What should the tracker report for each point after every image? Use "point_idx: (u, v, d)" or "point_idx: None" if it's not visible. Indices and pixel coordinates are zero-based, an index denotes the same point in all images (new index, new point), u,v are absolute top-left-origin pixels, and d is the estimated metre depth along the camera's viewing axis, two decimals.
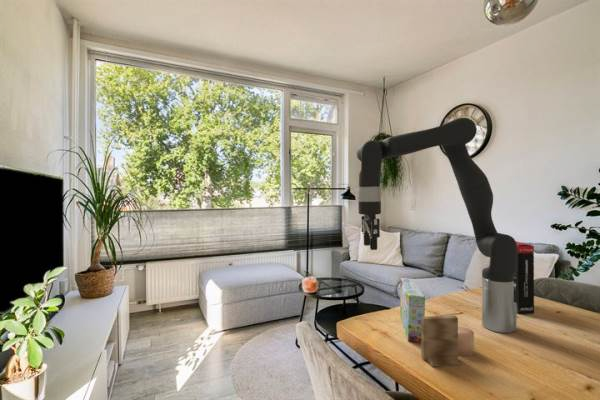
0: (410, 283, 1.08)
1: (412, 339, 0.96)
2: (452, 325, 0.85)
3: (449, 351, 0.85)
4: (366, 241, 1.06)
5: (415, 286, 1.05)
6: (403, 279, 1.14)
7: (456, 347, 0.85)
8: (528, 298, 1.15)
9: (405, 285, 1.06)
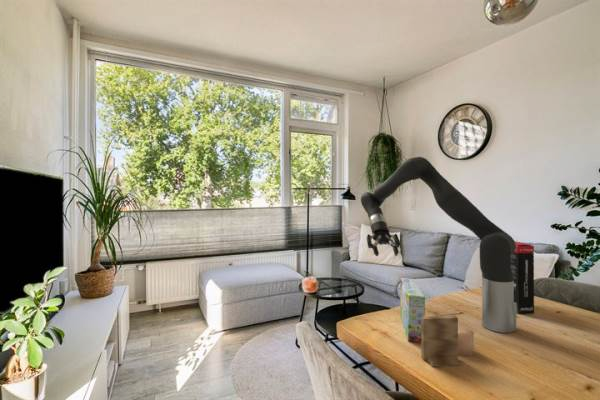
0: (410, 283, 1.08)
1: (412, 339, 0.96)
2: (452, 325, 0.85)
3: (449, 351, 0.85)
4: (394, 252, 1.31)
5: (415, 286, 1.05)
6: (403, 279, 1.14)
7: (456, 347, 0.85)
8: (528, 298, 1.15)
9: (405, 285, 1.06)
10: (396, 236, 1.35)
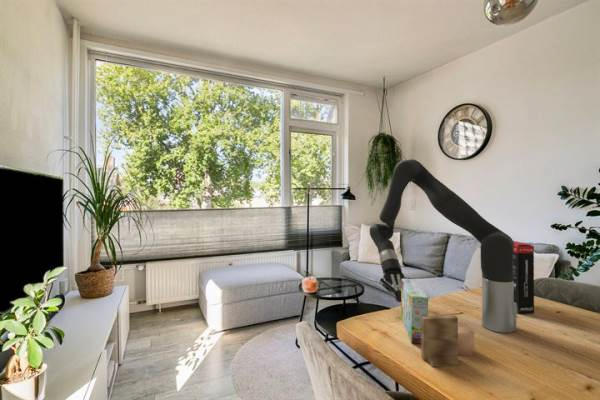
0: (412, 284, 1.07)
1: (415, 341, 0.94)
2: (452, 325, 0.85)
3: (449, 351, 0.85)
4: None
5: (417, 287, 1.04)
6: (404, 280, 1.12)
7: (456, 347, 0.85)
8: (528, 298, 1.15)
9: (407, 286, 1.05)
10: None
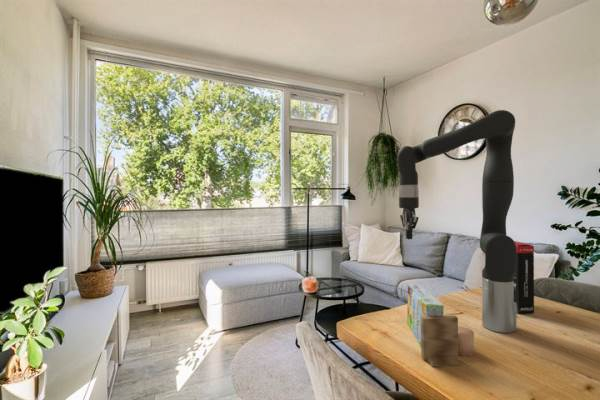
0: (421, 290, 1.01)
1: None
2: (452, 325, 0.85)
3: (449, 351, 0.85)
4: None
5: (428, 293, 0.97)
6: (411, 285, 1.06)
7: (456, 347, 0.85)
8: (528, 298, 1.15)
9: (417, 292, 0.98)
10: None
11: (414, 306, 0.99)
